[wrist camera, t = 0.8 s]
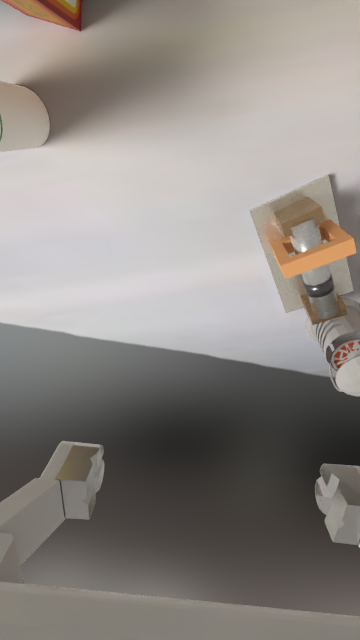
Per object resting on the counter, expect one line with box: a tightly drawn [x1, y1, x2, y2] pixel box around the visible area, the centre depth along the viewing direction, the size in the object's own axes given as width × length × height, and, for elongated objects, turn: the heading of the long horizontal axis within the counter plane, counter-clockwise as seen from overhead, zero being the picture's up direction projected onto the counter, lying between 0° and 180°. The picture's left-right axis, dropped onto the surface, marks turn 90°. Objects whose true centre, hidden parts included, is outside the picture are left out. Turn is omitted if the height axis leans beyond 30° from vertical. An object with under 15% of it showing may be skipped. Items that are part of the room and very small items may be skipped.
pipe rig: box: [249, 175, 354, 325], centre depth 43 cm, size 11×19×8 cm, turn 27°
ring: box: [271, 219, 357, 279], centre depth 40 cm, size 9×2×9 cm, turn 117°
